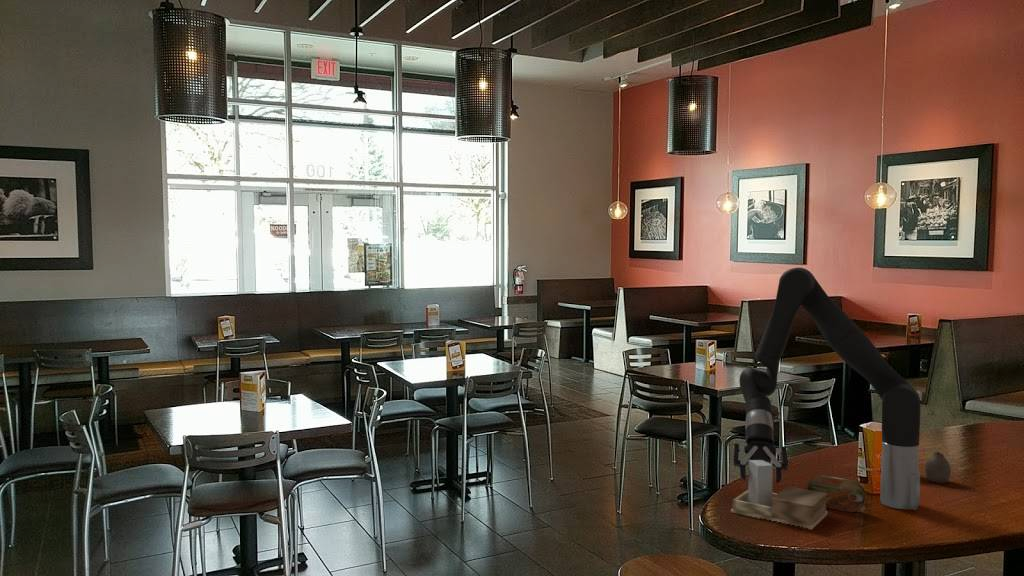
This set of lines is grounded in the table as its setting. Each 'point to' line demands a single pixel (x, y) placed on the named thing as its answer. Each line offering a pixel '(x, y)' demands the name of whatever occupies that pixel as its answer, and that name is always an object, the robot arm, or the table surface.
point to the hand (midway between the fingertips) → (760, 480)
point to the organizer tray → (761, 510)
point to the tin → (839, 492)
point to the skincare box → (760, 482)
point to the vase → (938, 468)
